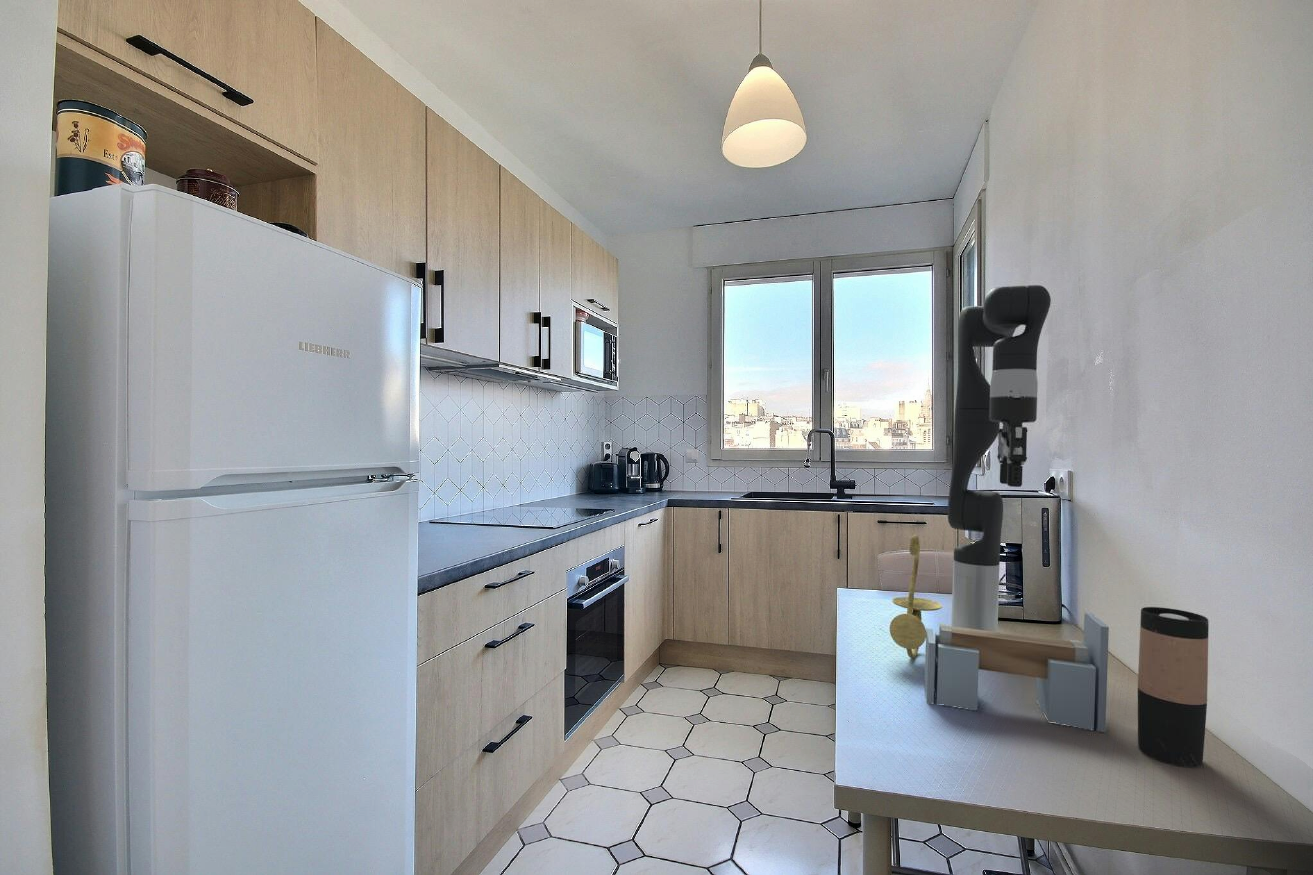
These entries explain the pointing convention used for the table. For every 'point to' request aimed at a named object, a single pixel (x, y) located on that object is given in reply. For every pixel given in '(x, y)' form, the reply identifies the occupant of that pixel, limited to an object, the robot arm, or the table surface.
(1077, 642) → the brown wooden bar
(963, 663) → the pair of grey brackets
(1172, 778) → the table surface
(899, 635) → the wall sconce
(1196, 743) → the travel mug
